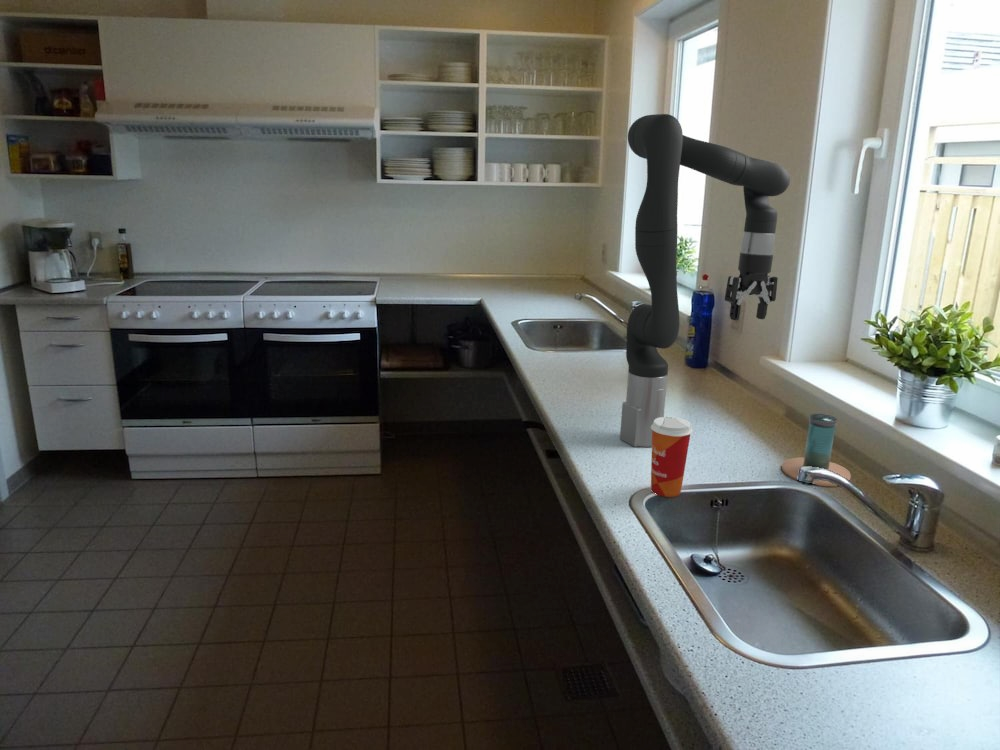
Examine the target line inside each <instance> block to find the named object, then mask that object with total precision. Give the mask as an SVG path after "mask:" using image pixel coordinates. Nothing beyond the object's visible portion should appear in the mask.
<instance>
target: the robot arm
mask: <svg viewBox="0 0 1000 750" xmlns="http://www.w3.org/2000/svg"><path fill="white" fill-rule="evenodd" d="M627 144H628V146H629V148H630V150H631V151H632V152H633V153H634V154H635V155H636V156H638V157H639V158H642V159H646V166H647V167H646V174H647V177H646V185H645V186H646V187H645V192H644V195H643V198H642V200H641V203H640V205H639V208H638V211H637V214H636V218H635V227H634V229H635V233H634V234H635V236H634V239H635V243H634V245H635V247H634V248H635V254H636V256H637V260H638V262H639V264H640V267H641V269H642V272H643V273H644V276H645V278H646V280H647V283H648V285H649V289H650V299H651V300H650V301H651V304H647V303H646V304H645V303H642V304H639V305H637V306H635V307H634V308H633V309H632V311H631V312H630V314H629V317H628V320H627V325H626V341H625V342H626V343H625V345H626V346H625V347H626V349H625V351H626V353H625V356H626V361H627V364H628V373H627V387H626V397H625V401H622V406H621V420H620V431H619V433H620V435H619V439H620V440H621V441H624V442H625V443H627V444H628V445H630V446H633V447H634V448H636V447H642V448H643V447H644V448H645V447H646V448H650V447H651V448H652V429H651V425H652V424H653V422H654V420H655V419H656V418H659V417H664V416H665V408H666V397H667V384H668V376H669V375H668V373H669V372H668V371H669V363H668V362H667V360H666V359H665V358H664V357H663V356H662V355H660V353H659V351H658V349H669V348H671V347H672V345H674V344H675V343H676V341H677V338H678V336H679V330H680V310H679V309H680V308H679V298H678V297H679V296H678V284H677V283H678V282H677V281H678V280H677V276H678V275H677V271H678V270H677V255H678V253H677V250H678V203H679V202H678V201H679V199H678V198H679V197H678V196H679V176H680V166H683V167H686V168H688V169H691V170H694V171H696V172H698V173H700V174H704V175H705V176H709V177H711V178H714V179H716V180H719V181H721V182H724V183H727V184H729V185H733V186H739V187H743V197H744V199H743V200H744V206H745V213H746V214H745V221H744V228H743V235H742V238H741V242H740V243H741V244H740V249H739V250H740V251H739V258H738V266H737V267H738V268H737V270H738V271H739V275H738V276H733V275H729V276H728V278H727V282H726V289H725V294H724V295H725V296H724V301H725V302H728V303H730V309H729V319H730V320H732V321H739V320H740V315H741V314H740V313H741V307H742V306H741V304H742V303H743V302H744V300H745V299H746V298H748V296H753V295H755V296H756V298H757V300H758V303H757V310H756V319H759V320H765V319H766V317H767V314H768V313H767V311H768V305H769V304H770V303H771V302H775V301H776V299H777V288H778V278H779V277H777V276H773V275H768V274H770V273H771V272H772V265H773V259H774V251H775V246H776V245H775V244H776V239H775V238H776V232H777V231H776V229H777V223H778V211H777V209H775V208H774V207H772V206H771V205H770V202H769V201H770V199H769V197H777V196H780V195H782V194H783V193H785V192H786V190H787V189H788V188H789V186H790V180H791V179H790V174H789V172H788V171H787V169H786V168H785V167H784V166H782V165H780V164H778V163H776V162H772V161H768V160H764V159H760V158H755V157H751V156H748V155H746V154H744V153H742V152H740V151H737V150H734V149H732V148H730V147H727V146H723V145H721V144H720V145H719V144H716V143H711V142H708V141H703V140H699V139H695V138H693V137H689V136H686V135H683V129H682V126H681V123H680V121H679V120H678V119H677V118H676V117H675V116H673V114H672V115H671V114H667V113H660V114H659V113H658V114H649V115H643V116H641V117H638V119H636V120H634V122H633V123H632V124H631V125H630V127H629V129H628V132H627ZM664 418H665V417H664Z"/></svg>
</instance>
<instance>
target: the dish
mask: <svg viewBox="0 0 1000 750" xmlns="http://www.w3.org/2000/svg"><path fill="white" fill-rule="evenodd" d="M804 457H805V456H803V457H802V456H801V457H792V458H791V457H790V458H788V459H785V460H784V461H783V462H782V465H781V470H782V473H784V474H785V475H786V476H787V475H788V477H789V478H791V479H793V480H795V481H797V476H798V470H799V468H800V467H802V466H803V463H804ZM829 470H831V471H833V472H835V473H838V474H840V475H841V476H843V477H845V478H847V479H848V480H851V477H852V474H851V472H850V471H849V470H848V469H847V468H845V467H844V466H842V465H840V464H838V463H836V462H832V461H830V464H829ZM814 483H815V484H817V485H818V487H833V488H834V487H838V486H837V485H835V484H832V483H830V482H828V481H822V480H819V481H814ZM817 485H816V486H817Z"/></svg>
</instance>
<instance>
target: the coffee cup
mask: <svg viewBox="0 0 1000 750" xmlns="http://www.w3.org/2000/svg"><path fill="white" fill-rule="evenodd" d="M651 429H652V447H651V459H650V460H651V461H650V462H651V465H650V467H651V468H650V490H652V491H653V492H654V493H656V494H657V496H659V497H663V498H675V497H679V496H680V495H681V492H682V486H683V481H684V477H685V476H684V475H685V469H686V465H687V464H686V463H687V458H688V451H689V445H690V439H691V434H692V433H693V428H692V424H691V423H690V422H689V421H688V420H687V419H684V418H680V417H674V418H673V417H668V416H666V417H659V418H656V419H655V420H654V422H653V424H652V425H651ZM652 491H651V492H652ZM653 492H652V493H653ZM654 493H653V494H654ZM656 494H655V495H656Z"/></svg>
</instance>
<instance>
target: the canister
mask: <svg viewBox="0 0 1000 750" xmlns="http://www.w3.org/2000/svg"><path fill="white" fill-rule="evenodd" d="M808 422H809V424H808V432H807V437H806V443H805V451H804V456H803V457H804V463H803V466H812V467H819V468H824V469H828V470H829V464H830V462H831V457H832V452H833V451H832V449H833V443H834V436H835V430H836V427H837V424H838V418H837V417H836V416H833V415H830V414H826V413H811V414H809V416H808Z"/></svg>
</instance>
